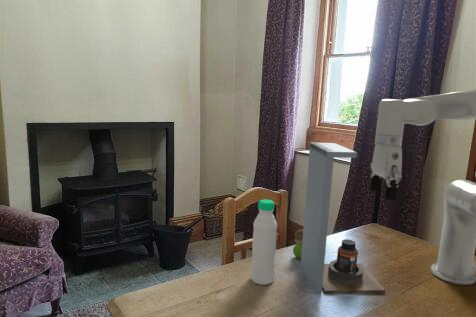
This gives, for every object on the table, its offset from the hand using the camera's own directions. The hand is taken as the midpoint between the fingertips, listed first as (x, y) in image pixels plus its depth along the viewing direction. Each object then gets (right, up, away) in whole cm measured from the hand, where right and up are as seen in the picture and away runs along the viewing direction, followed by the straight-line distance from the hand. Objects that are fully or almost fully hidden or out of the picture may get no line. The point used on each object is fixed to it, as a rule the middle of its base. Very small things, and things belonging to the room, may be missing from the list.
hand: (382, 194), depth 110 cm
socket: (-12, -26, 0) cm, 29 cm away
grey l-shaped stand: (-20, -26, -1) cm, 33 cm away
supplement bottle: (-11, -25, 0) cm, 28 cm away
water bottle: (-38, -26, -2) cm, 46 cm away
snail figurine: (-23, -24, +13) cm, 35 cm away
